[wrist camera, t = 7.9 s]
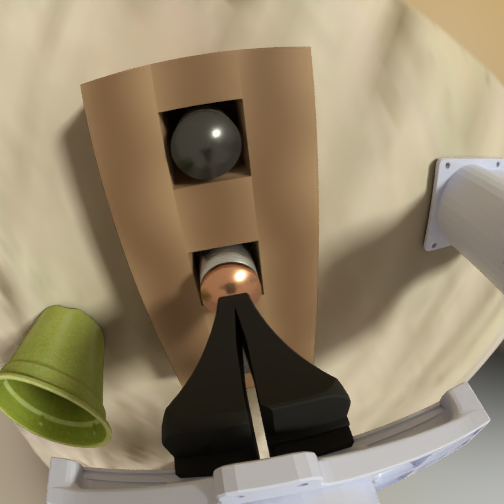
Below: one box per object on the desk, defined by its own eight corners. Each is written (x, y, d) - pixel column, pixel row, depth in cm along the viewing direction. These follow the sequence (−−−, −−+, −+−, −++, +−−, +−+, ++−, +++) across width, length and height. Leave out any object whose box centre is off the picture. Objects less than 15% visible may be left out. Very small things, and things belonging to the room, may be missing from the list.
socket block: (286, 53, 14) (310, 46, 11) (299, 338, 26) (312, 373, 23) (105, 82, 13) (80, 84, 10) (186, 359, 25) (187, 396, 22)
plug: (229, 101, 15) (237, 106, 12) (235, 154, 16) (245, 173, 13) (172, 111, 14) (164, 119, 11) (181, 163, 16) (177, 185, 13)
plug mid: (247, 228, 17) (258, 263, 14) (252, 271, 19) (263, 310, 16) (194, 237, 17) (195, 274, 14) (204, 280, 19) (207, 320, 16)
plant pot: (82, 376, 25) (69, 453, 18) (8, 318, 20) (-27, 395, 13) (146, 342, 24) (139, 436, 16) (60, 265, 19) (14, 358, 11)
